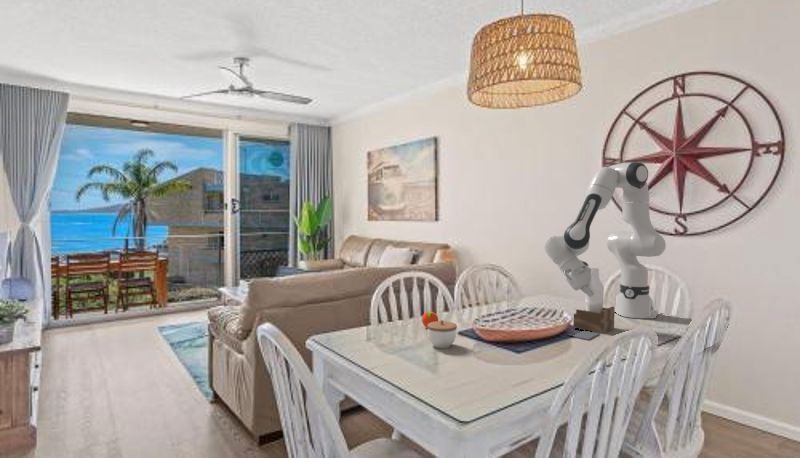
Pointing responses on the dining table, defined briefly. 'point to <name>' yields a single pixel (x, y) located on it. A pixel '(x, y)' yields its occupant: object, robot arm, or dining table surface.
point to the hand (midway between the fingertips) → (595, 294)
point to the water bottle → (595, 292)
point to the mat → (586, 335)
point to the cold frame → (595, 320)
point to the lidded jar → (442, 333)
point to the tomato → (429, 318)
